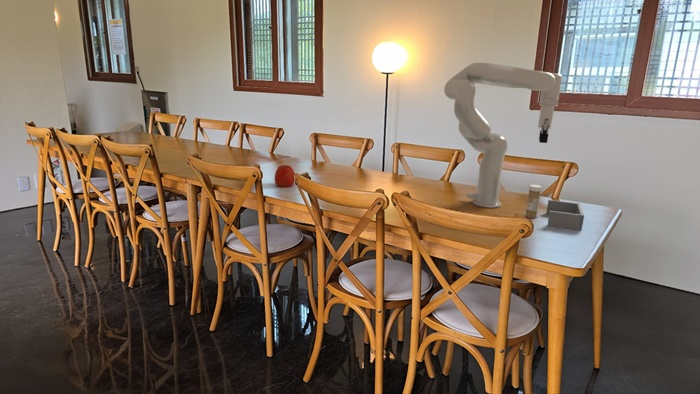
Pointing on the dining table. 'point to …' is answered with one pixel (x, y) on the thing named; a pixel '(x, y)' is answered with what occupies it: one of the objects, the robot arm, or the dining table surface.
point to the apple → (284, 176)
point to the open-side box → (565, 215)
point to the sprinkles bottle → (533, 201)
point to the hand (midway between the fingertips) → (542, 141)
